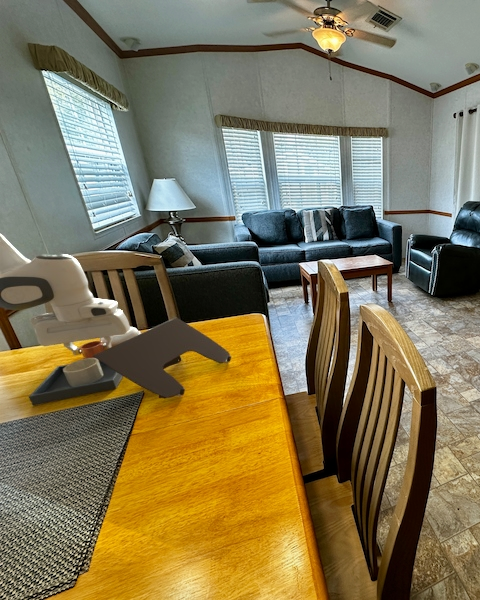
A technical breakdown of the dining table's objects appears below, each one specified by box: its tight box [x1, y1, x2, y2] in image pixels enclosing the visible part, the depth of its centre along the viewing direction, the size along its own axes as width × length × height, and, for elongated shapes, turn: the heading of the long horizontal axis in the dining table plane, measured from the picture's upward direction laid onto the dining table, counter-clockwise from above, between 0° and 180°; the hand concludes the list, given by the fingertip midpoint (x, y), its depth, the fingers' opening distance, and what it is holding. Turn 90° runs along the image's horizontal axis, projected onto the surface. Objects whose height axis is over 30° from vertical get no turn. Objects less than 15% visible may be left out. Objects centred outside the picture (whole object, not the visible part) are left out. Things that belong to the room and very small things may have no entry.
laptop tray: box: [93, 317, 232, 399], centre depth 90 cm, size 23×23×9 cm
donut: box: [99, 326, 140, 347], centre depth 108 cm, size 10×4×10 cm
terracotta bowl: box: [79, 340, 104, 359], centre depth 98 cm, size 5×5×4 cm
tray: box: [28, 360, 124, 406], centre depth 87 cm, size 16×14×3 cm
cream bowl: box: [63, 358, 104, 387], centre depth 86 cm, size 7×7×4 cm
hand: (93, 351), depth 98 cm, fingers open, 6 cm apart
